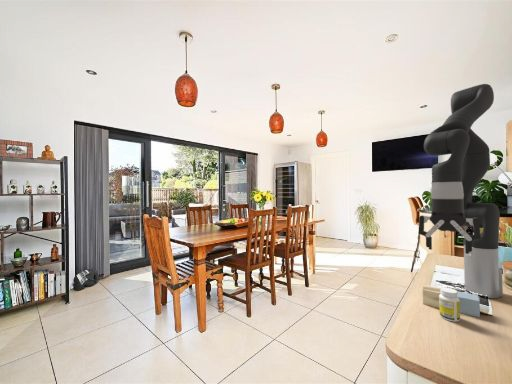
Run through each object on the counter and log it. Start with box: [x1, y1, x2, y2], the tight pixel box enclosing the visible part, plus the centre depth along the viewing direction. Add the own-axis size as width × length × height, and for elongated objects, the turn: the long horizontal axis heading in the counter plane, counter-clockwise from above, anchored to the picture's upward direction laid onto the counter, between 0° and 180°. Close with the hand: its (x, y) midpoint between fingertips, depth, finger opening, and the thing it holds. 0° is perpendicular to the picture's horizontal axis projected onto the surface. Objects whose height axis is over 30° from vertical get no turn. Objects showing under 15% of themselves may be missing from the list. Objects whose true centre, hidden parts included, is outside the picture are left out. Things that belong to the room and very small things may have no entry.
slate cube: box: [456, 290, 481, 318], centre depth 73 cm, size 5×5×5 cm
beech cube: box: [422, 284, 442, 309], centre depth 79 cm, size 5×5×5 cm
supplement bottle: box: [439, 287, 461, 323], centre depth 70 cm, size 5×5×8 cm
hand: (447, 251), depth 70 cm, fingers open, 8 cm apart
